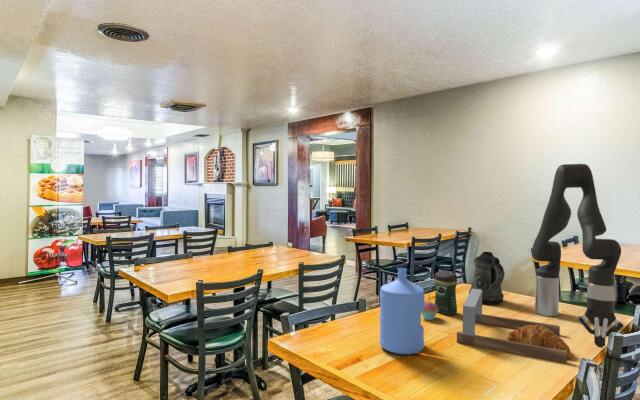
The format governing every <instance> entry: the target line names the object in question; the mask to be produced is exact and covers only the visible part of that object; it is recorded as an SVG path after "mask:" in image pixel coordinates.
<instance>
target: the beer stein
mask: <svg viewBox="0 0 640 400" xmlns="http://www.w3.org/2000/svg"><path fill="white" fill-rule="evenodd" d="M500 263H501V261H500V258H498V257H496V256H495V255H494V254H493V252H491V251H482V252H481V254H479V255H478V256H476V257H475V258H474V259H473V264H474V270H473V275H472V282H471V285H470V287H469V290H468V295H469V294H470V292H471V290H472V289H480V290H482V305H487V306H488V305H489V306H490V305H491V306H497V305H502V304H503V301H504V295H505V294H504V293H503V291H502V290H503V289H502V286H501V285H502V284H503V281H504V279H505V269H504V267H503V265H502V264H500Z"/></svg>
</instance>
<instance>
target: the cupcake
mask: <svg viewBox="0 0 640 400" xmlns="http://www.w3.org/2000/svg"><path fill="white" fill-rule="evenodd" d="M430 297H431V296H430V293H428V294H427V301H424V310H423V311H422V312H421V316H422V319H424V320H427V321H433V320H435V318H436V315H437V313H438V311H439V309H438V306H437V305H436V304H435V302H431V301H430Z"/></svg>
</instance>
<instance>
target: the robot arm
mask: <svg viewBox="0 0 640 400" xmlns="http://www.w3.org/2000/svg"><path fill="white" fill-rule="evenodd" d="M567 188H569V189H571V188H573V189H574V188H576V189H577V188H580V189H581V191H582V193H583V194H582V198H581V201H580V204H579V206H578V208H577V212H576V213H577V214H576V215H577V220H578V223H579V226H580V229H581V234H582V247H581V248H582V253H583V255H585V257H587V258H588V259H589V260H602V261H601V262H600V263H599V264H596V265H591V266H589V268H588V274H587V275H588V276H587V277H588V279H587V280H588V281H587V288H586V311H585V312H584V314H583V315H579V316H577V319H578V322H580V324H581V325H582V326H583V327H584V328H585V330H586V331H587V332H588V333H589V334H591V335H593V336H594V337H593V338H594V340H593V342H594V344H595V346H596V348H600V349H603V347H605V346H606V338H607V337H610V336H609V334H610V333H611V332H616V333H617V332H619V331H620V330H621V329H622V328H623V327H624V324H623V323H622V321H619V320H618V319H617V318H616V314H615V298H616V294H615V285H614V283H615V282H614V281H615V273H616V272H615V271H616V269H617V265H618V264H619V261H620V259H621V255H622V247H621V245H620V243H619V241H617V240H615V239H611V238H610V239H609V238H596V237H598V236H601V235H604V234H605V233H606V232H607V227H606V226H607V225H606V223H605V221H604V218H603V216H602V213H601V211H600V210H601V209H600V208H599V203H598V197H597V193H596V192H597V191H596V186H595V181H594V176H593V173H592V169H591V168H590V166H589V165H588V164H586V163H569V164H568V163H567V164H566V163H565V164H560V165H559V166H558V167H557V168H556V170H555V174H554V177H553V183H552V187H551V192H550V197H549V200H548V203H547V204H546V209H545V211H544V214H543V218H542V222H541V225H540V227H539V231H538V233H537V235H536V237H535V239H534V241H533V245H532V248H531V257H532V258H533V259H534V260H535V261H537V262H546V263H547V262H548V263H547V264H546V265H544V266H541V267H538V268H536V269H535V284H534V285H535V286H534V287H535V291H534V292H535V293H534V296H535V297H534V300H535V301H534V313H536V314H537V315H541V316H544V317H558V316H559V308H560V307H559V304H560V303H559V301H560V298H559V297H560V294H559V292H560V272H561V261H562V259H561V258H562V248H561V245H560V242H558V241H550V240H551V239H553V238H554V237H556V236H557V235H558V234H560V233H561V232H563V231H564V230H565V228H567V226H568V224H569V222H570V220H571V216H572V209H571V207H570V204H568V202H567V199H566V198H565V191H566V190H567ZM588 321H589V322H590V323H591V324H592V325H593V328H592V327H590V325H589V324H588ZM611 325H612V326H611ZM608 327H610V328H609V329H608Z"/></svg>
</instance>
